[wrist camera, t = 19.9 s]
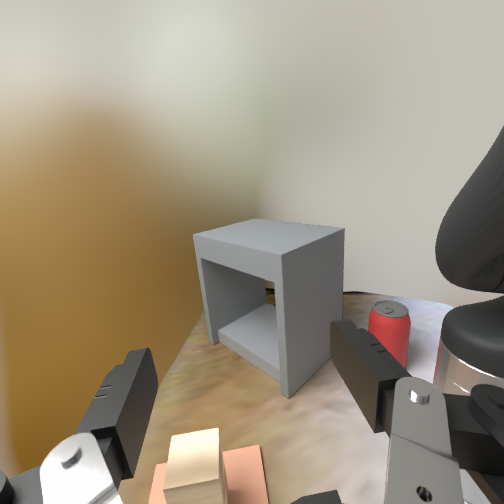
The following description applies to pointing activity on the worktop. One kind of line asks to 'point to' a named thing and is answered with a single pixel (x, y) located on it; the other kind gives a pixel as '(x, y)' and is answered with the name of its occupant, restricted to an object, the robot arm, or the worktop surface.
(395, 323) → the beer can
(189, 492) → the maple block
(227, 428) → the worktop surface
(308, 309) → the box
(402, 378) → the robot arm
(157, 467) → the terracotta mat
